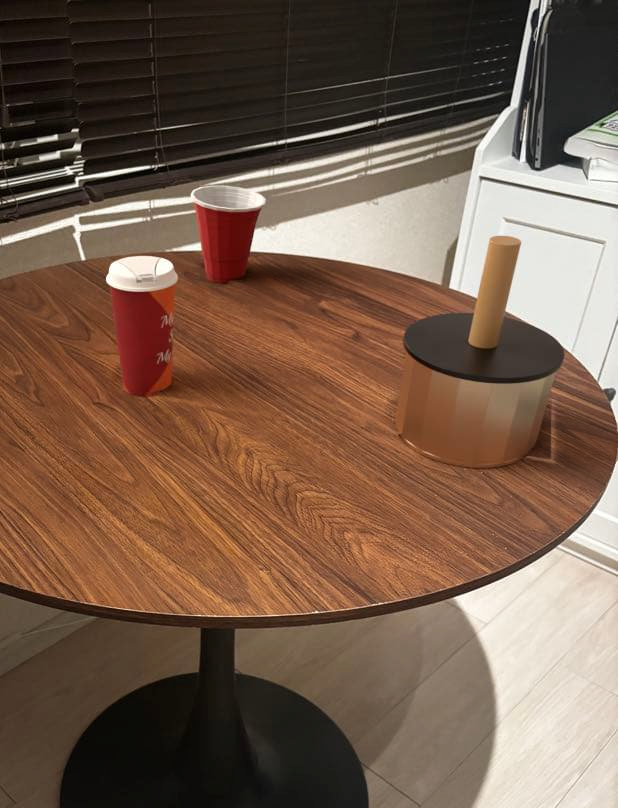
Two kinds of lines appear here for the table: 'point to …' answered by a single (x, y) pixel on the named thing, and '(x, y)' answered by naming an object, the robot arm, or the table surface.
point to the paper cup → (144, 321)
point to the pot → (469, 417)
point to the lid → (486, 332)
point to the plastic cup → (226, 228)
